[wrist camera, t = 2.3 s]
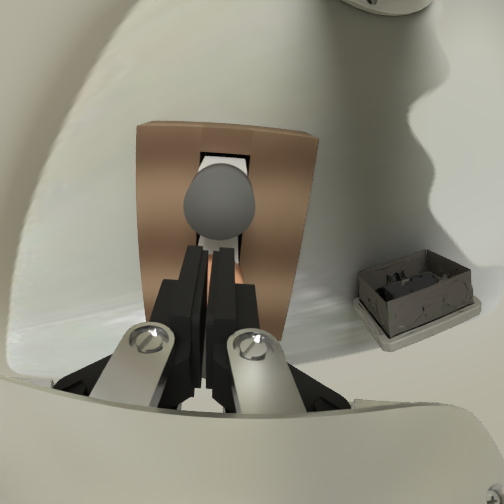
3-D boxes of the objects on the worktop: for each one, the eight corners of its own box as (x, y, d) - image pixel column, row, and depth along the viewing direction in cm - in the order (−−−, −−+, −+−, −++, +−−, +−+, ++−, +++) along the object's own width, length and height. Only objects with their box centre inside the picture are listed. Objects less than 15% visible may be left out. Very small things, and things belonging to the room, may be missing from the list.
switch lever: (199, 149, 18) (184, 170, 13) (252, 152, 18) (259, 175, 13) (196, 198, 19) (182, 237, 14) (246, 202, 20) (251, 242, 14)
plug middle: (195, 224, 20) (182, 271, 15) (244, 228, 20) (247, 275, 15) (194, 267, 22) (184, 320, 16) (240, 269, 22) (242, 324, 17)
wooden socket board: (153, 120, 20) (136, 125, 17) (305, 132, 21) (319, 139, 18) (156, 303, 27) (147, 332, 24) (275, 311, 28) (280, 340, 25)
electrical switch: (351, 305, 29) (384, 370, 20) (343, 259, 27) (382, 317, 18) (432, 277, 28) (481, 327, 20) (430, 231, 26) (489, 274, 18)
